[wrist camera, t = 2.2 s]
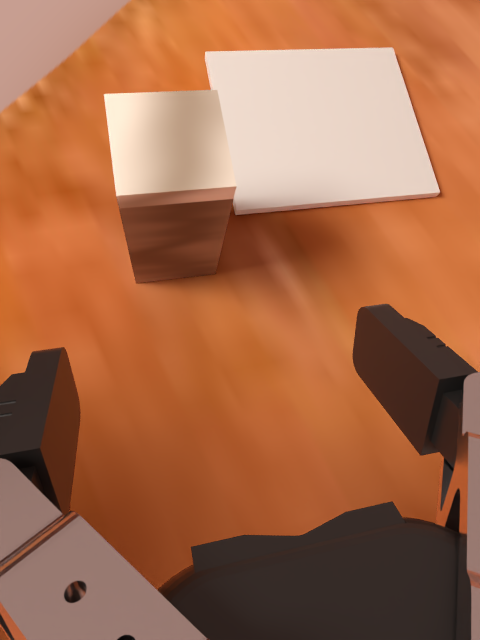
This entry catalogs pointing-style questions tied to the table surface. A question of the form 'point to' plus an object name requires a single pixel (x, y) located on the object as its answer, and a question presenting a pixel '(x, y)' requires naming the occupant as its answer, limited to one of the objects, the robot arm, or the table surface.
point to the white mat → (319, 128)
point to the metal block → (171, 180)
